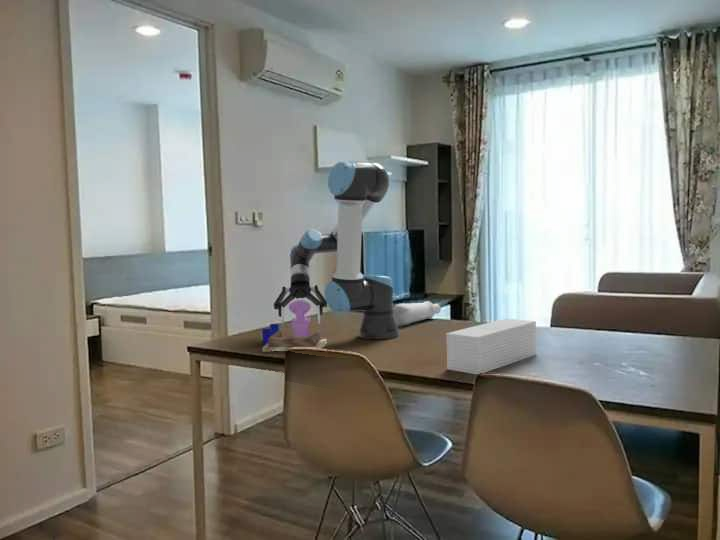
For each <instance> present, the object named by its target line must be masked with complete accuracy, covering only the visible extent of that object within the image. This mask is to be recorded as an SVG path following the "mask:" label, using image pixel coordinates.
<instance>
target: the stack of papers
mask: <svg viewBox="0 0 720 540" xmlns="http://www.w3.org/2000/svg"><path fill="white" fill-rule="evenodd" d="M536 355H537V321H534V320H525V319H514V318H502V319H498V320H495V321H491V322H487V323H483V324H478V325H474V326H470V327H466V328H462V329H459V330H455V331H450V332H446V368H447V370H448V371H449V370H451V371H455V372H456V371H457V372H463V373H467V374H473V375H477V374H479V373H482V374H484V373H487V372H490V371H493V370H495V369H498V368H503V367H505V366H507V365H510V364H513V363H516V362H519V361H521V360H525V359H527V358H530V357H533V356H536ZM479 375H480V374H479Z"/></svg>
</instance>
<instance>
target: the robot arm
mask: <svg viewBox="0 0 720 540" xmlns="http://www.w3.org/2000/svg"><path fill="white" fill-rule="evenodd" d="M327 186H328V190H329V192H330V193H331V195H333V196H334V201H335V202H336V203H337V205H338V209H337V210H338V212H337V213H338V214H337V223H336V225H335V227H334V228H333V230H332V231H331V232H330V233H323V234H322V233H321V232H319V230H315V229H312V228H310V229H307V230H306V231H305V232H304V233H303V235H302V236H301V238H300V240H299V242H298V244H295V245H294V246H292V247H291V248H290V254H289V259H290V261H289V263H290V269H289V270H290V287H286V286H282V288H281V289H282V290H281V292H280V293H279V295H278V296H277V298H276V300H275V302H274V303H273V309H274V310H278V314H277V315H278V317H281V319H280V320H281V321H280V322H281V325H282V326H284V325H285V308H286V307H287V305H289V304H290V303H291V302H293V300H295V299H296V300H299V299H305V298H306V299H307V300H309V301H310V302H312V303H313V305H315V306H316V308H317V324H321V315H322V316H323V314H324V311H323V310H324V308H327V307H329V309H330V310H332V312H333V313H336V314H349V313H355V312H361V311H362V317H361V321H360V324H359V328H358V337H359V338H361V339H364V340H365V339H366V340H389V339H392V338H393V339H394V338H397V337H398V336H399V331H400V330H399V326H397V324H396V321H395V318H394V315H393V307H394V286H393V279H392V277H390V276H385V275H374V274H363V273H362V271H361V258H362V254H361V253H362V235H363V234H362V232H363V231H362V230H363V229H362V228H363V222H364V220H365V219H366V217H367V216H368V215H369V213H370V212H371V211H372V209H373V208H374V207H375V205H376V204H378V203H380V202H382V200H383V199H384V197H385V196H386V194H387V193H388V191H389V186H390V179H389V174H388V172H387V170H386V169H385V168H384V167H383V166H382V165H381V164H380V163H377V162H372V161H350V160H349V161H339V162H337V163H335V164H334V165H333V167H332V168H331V169H330V171H329V174H328V179H327ZM326 253H327V254H329V253H336V267H335V268H336V270H335V272H334V273H332V274H331V281H329V282H328V283H326V286H325V289H324V296H325V297H324V296H323V294H322V293H321V291H320V290H319V287H318V285H317V284H316V285H315V284H314V286H311V285H310V284H311V283H310V282H311V281H310V262H311V260H312V258H313V257H314V256H315V254H326ZM311 292H313V293H314V295H315V296H316V297H315V296H314V295H313V294H312V293H311ZM288 293H289V294H288ZM287 294H288V295H287ZM286 295H287V297H286Z"/></svg>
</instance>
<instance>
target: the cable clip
mask: <svg viewBox="0 0 720 540" xmlns="http://www.w3.org/2000/svg"><path fill="white" fill-rule="evenodd" d="M276 332H280V323H270V324H269V327H268V328H262V332H261V333H262V345H263V346H265V345H266V344H268V338H270V337H271V336H272V335H273V334H275V333H276Z"/></svg>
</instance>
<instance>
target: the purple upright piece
mask: <svg viewBox="0 0 720 540" xmlns="http://www.w3.org/2000/svg"><path fill="white" fill-rule="evenodd" d="M311 308H312V305H311V303H310V302H308V301H306V300H303V299H301V300H299V299H296V300H294V301H293V300H292V301H290V302H289V303H288V310H289V311H290V312H292V314H295V317H293V319H291V327H292V329H293V336H292V337H307V336H312V335H311V333H310V324H311V317H305V315H306V314H307V313H309V312H310V310H311Z"/></svg>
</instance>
